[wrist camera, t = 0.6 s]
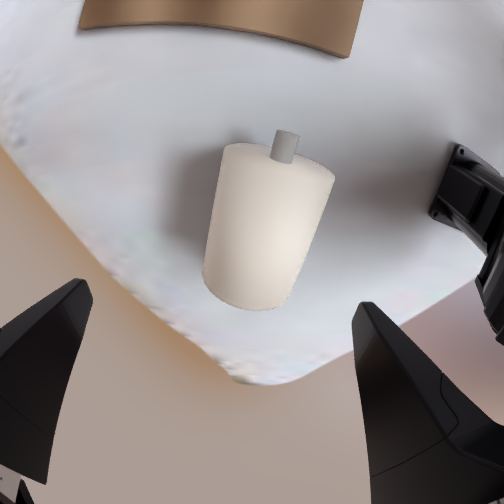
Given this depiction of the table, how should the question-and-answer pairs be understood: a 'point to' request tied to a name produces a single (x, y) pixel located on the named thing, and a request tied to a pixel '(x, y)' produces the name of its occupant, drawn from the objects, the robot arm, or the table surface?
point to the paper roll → (263, 222)
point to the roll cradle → (241, 18)
